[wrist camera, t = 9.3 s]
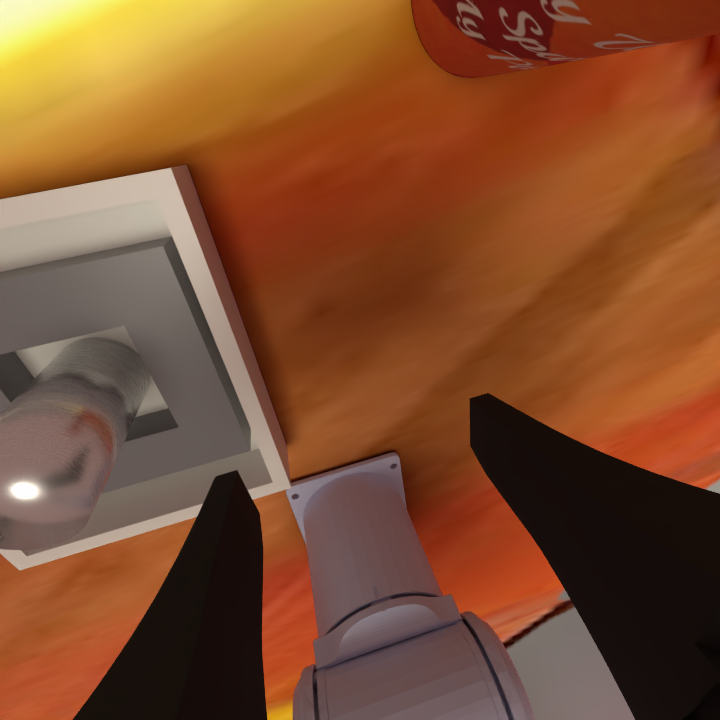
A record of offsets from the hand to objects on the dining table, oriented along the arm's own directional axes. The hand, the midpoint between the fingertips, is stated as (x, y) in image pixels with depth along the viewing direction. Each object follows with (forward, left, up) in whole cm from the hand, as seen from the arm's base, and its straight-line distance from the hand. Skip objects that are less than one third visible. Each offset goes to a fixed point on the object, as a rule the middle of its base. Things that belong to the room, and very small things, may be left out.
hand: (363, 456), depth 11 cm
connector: (0, +11, -10) cm, 15 cm away
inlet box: (0, +11, -10) cm, 15 cm away
